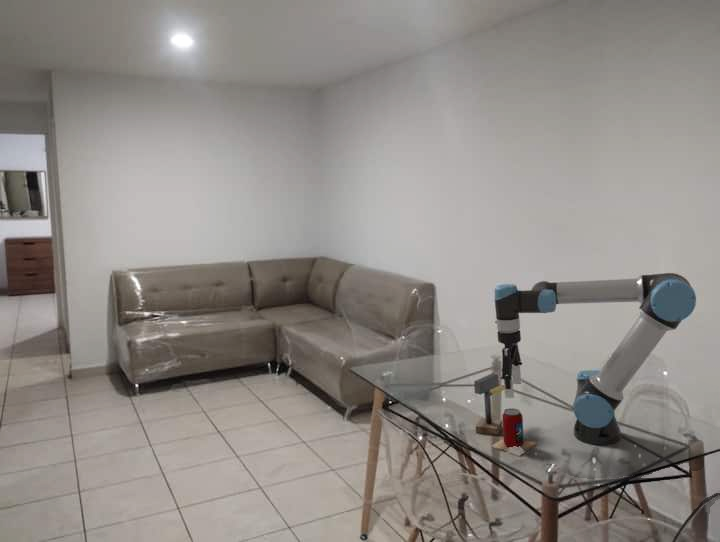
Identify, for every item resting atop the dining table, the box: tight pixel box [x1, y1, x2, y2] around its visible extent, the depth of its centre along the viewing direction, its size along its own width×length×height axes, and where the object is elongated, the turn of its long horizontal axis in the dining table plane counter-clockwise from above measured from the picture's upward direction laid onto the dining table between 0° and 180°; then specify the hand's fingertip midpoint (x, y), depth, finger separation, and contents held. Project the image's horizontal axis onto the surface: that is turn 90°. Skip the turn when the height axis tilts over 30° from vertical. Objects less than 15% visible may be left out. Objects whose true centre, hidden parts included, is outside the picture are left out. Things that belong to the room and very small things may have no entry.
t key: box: [473, 372, 505, 424], centre depth 215 cm, size 16×2×17 cm, turn 131°
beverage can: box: [501, 408, 525, 447], centre depth 199 cm, size 7×7×12 cm
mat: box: [491, 437, 538, 453], centre depth 200 cm, size 11×11×1 cm
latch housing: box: [475, 417, 503, 436], centre depth 215 cm, size 8×8×2 cm
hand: (513, 390), depth 198 cm, fingers open, 13 cm apart
